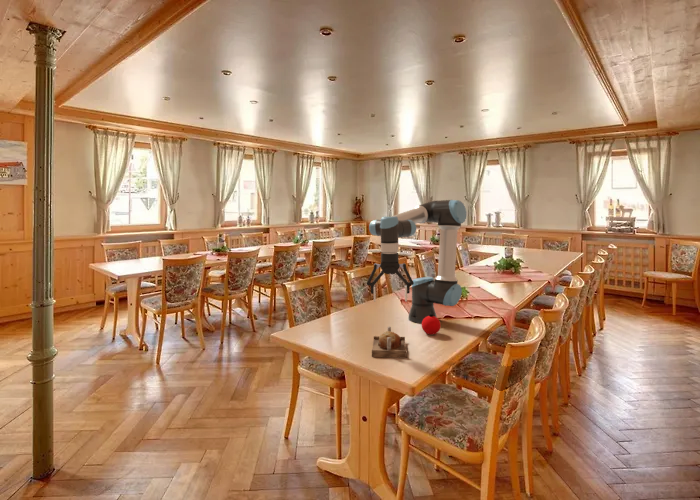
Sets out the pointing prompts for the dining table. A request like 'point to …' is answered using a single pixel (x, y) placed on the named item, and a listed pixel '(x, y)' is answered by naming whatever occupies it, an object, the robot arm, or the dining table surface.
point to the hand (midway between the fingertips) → (390, 300)
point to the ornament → (431, 324)
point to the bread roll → (394, 340)
